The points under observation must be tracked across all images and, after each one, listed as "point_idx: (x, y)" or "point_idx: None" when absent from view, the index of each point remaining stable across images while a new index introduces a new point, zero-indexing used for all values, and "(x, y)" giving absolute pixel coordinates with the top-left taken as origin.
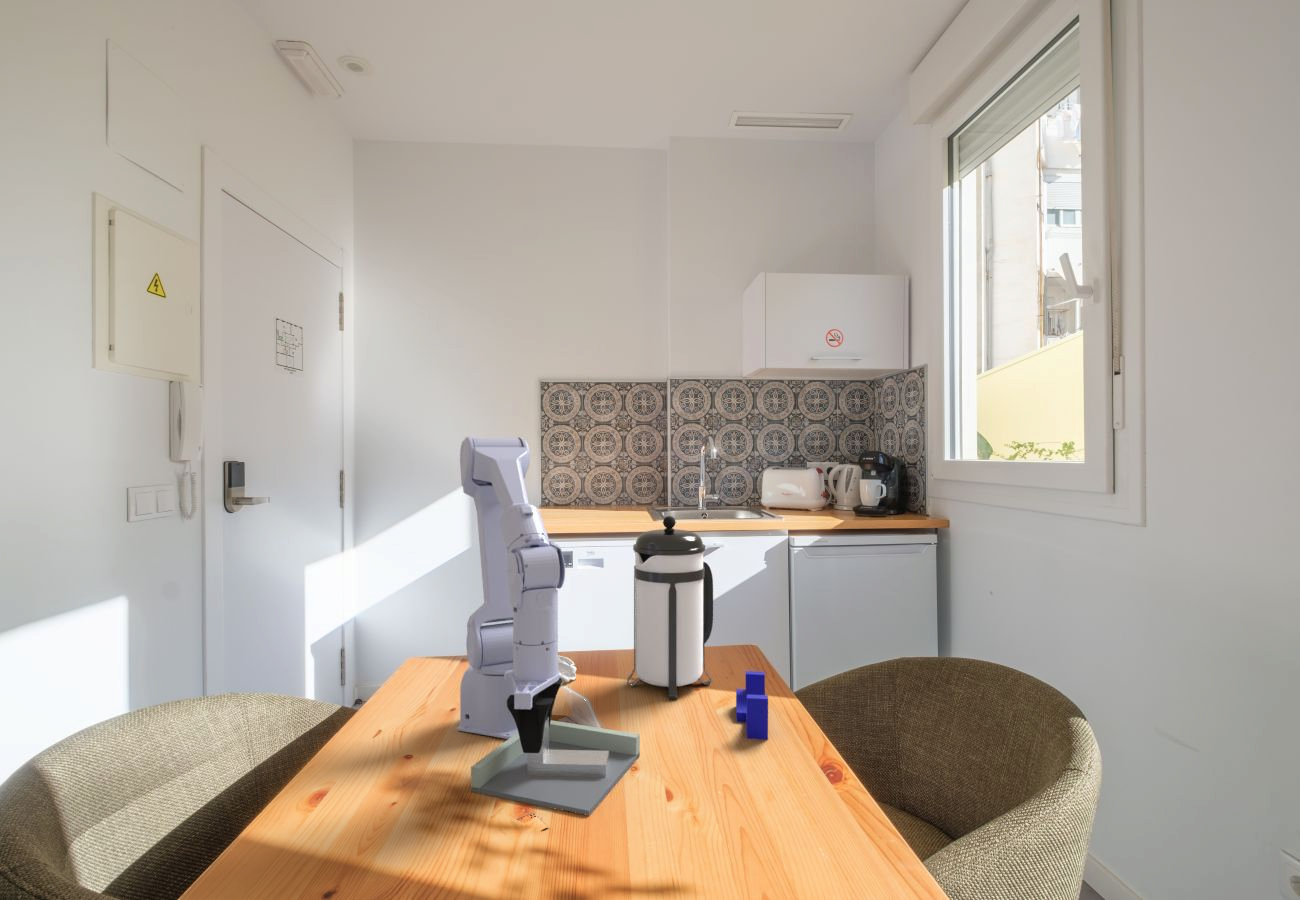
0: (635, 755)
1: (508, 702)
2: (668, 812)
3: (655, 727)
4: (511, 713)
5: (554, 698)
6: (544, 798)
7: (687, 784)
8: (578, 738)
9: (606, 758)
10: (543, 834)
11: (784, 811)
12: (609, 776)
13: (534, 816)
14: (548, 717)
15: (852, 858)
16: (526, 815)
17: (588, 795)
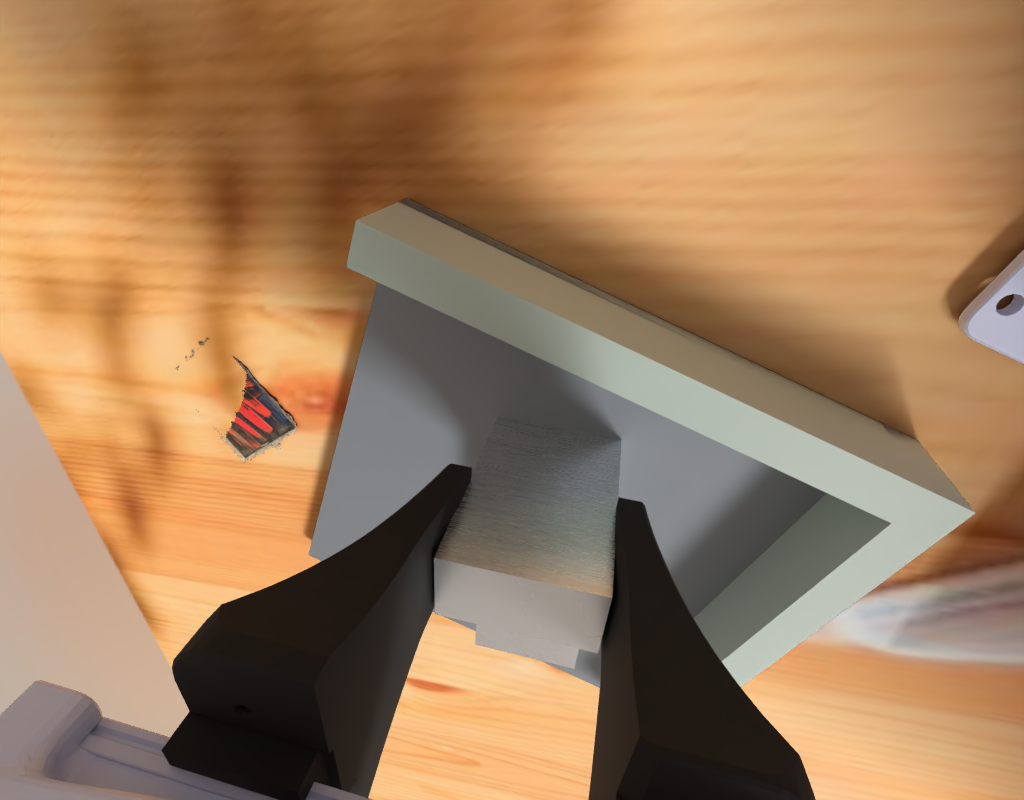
0: None
1: (182, 651)
2: None
3: (847, 768)
4: (267, 587)
5: (591, 777)
6: (347, 464)
7: (476, 721)
8: (733, 608)
9: (518, 653)
10: (217, 447)
11: (387, 785)
12: None
13: (284, 429)
14: (585, 646)
15: None
16: (281, 409)
17: None
